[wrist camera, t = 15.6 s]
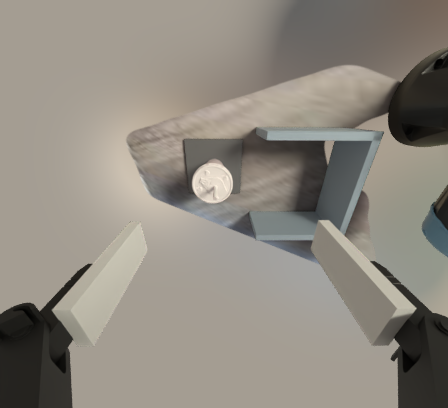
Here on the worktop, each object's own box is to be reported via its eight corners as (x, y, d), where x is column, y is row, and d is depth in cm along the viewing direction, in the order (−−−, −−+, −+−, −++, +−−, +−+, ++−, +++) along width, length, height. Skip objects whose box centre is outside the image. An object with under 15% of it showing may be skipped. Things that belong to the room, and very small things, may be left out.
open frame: (344, 127, 33) (384, 131, 25) (319, 215, 42) (342, 240, 34) (256, 127, 33) (267, 131, 25) (249, 216, 42) (255, 240, 34)
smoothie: (222, 187, 38) (223, 224, 25) (193, 175, 36) (179, 208, 24) (235, 160, 35) (243, 185, 23) (205, 146, 34) (196, 165, 21)
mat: (242, 139, 34) (242, 139, 33) (239, 192, 39) (240, 193, 38) (184, 138, 34) (184, 139, 33) (189, 192, 39) (189, 193, 38)
